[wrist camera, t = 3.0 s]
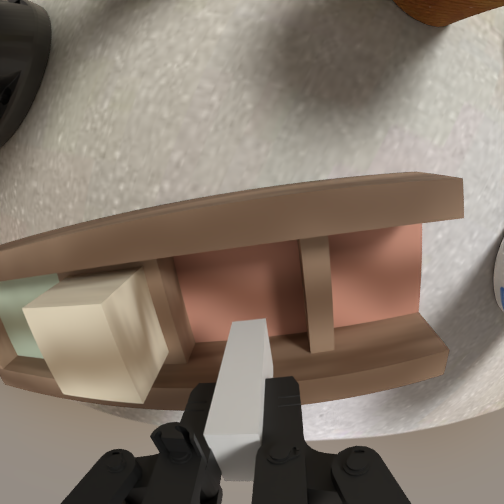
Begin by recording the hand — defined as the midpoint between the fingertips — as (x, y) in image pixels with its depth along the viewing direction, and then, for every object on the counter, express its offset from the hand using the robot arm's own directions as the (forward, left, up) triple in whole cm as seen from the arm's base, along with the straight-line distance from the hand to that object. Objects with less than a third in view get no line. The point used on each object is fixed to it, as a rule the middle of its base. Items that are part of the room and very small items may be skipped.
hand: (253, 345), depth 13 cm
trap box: (0, -7, -7) cm, 10 cm away
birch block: (0, -9, -4) cm, 10 cm away
